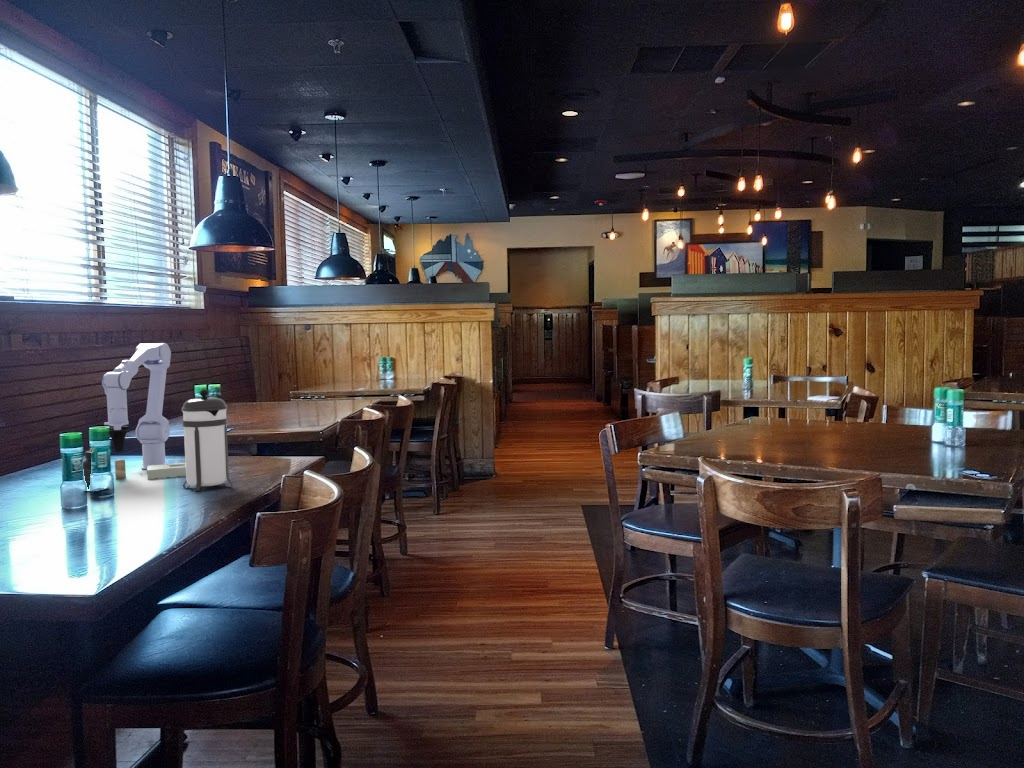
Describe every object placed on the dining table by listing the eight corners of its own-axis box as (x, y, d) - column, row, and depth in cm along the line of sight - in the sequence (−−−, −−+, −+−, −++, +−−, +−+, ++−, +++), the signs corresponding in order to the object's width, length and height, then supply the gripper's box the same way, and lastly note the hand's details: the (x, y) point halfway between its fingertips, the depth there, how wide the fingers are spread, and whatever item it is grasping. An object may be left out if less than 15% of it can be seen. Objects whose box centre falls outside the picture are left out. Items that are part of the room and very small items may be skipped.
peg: (115, 478, 248) (114, 459, 248) (126, 477, 250) (125, 459, 249) (115, 479, 246) (114, 461, 245) (125, 478, 247) (124, 460, 247)
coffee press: (244, 482, 237) (240, 387, 235) (219, 493, 221) (215, 391, 219) (191, 482, 239) (187, 387, 237) (163, 492, 223) (158, 391, 221)
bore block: (147, 474, 254) (147, 465, 254) (205, 469, 262) (205, 460, 261) (147, 479, 245) (147, 470, 245) (207, 474, 252) (206, 465, 252)
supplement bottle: (84, 489, 231) (82, 450, 230) (109, 486, 234) (107, 448, 233) (82, 493, 224) (79, 453, 224) (108, 490, 227) (106, 451, 226)
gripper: (104, 407, 251) (106, 447, 252) (102, 411, 238) (104, 453, 239) (128, 406, 254) (130, 446, 255) (127, 409, 241) (129, 452, 242)
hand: (119, 449), depth 247 cm, fingers open, 7 cm apart
